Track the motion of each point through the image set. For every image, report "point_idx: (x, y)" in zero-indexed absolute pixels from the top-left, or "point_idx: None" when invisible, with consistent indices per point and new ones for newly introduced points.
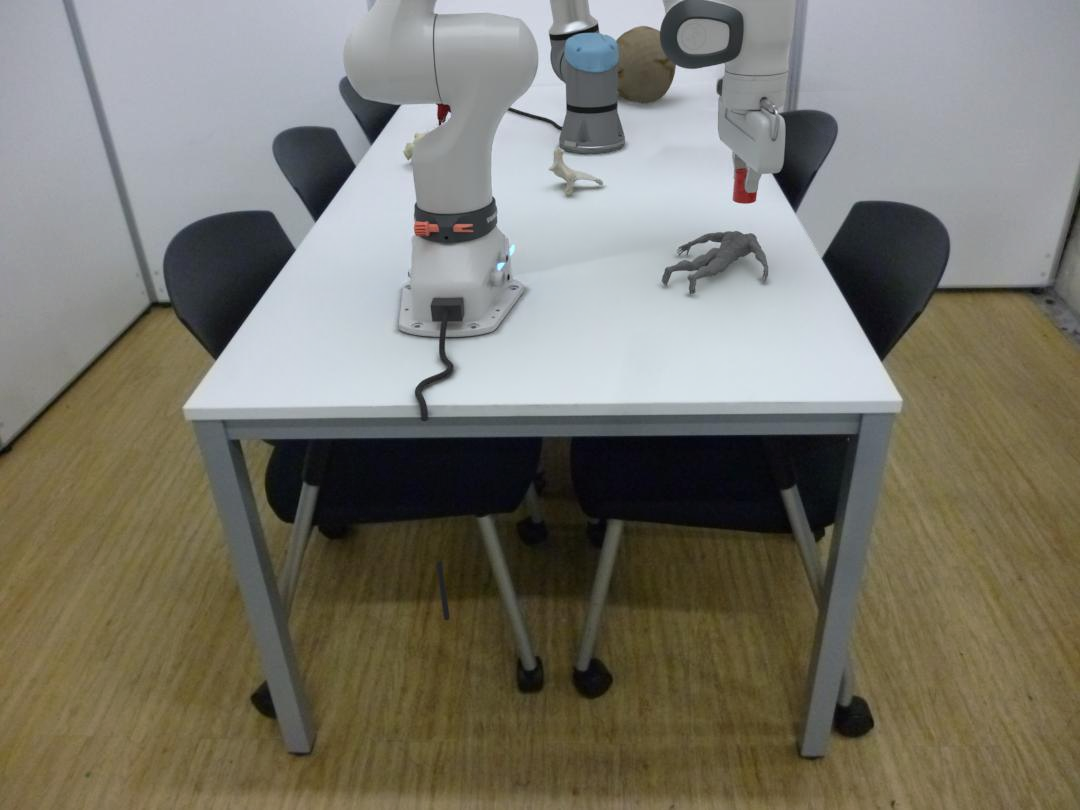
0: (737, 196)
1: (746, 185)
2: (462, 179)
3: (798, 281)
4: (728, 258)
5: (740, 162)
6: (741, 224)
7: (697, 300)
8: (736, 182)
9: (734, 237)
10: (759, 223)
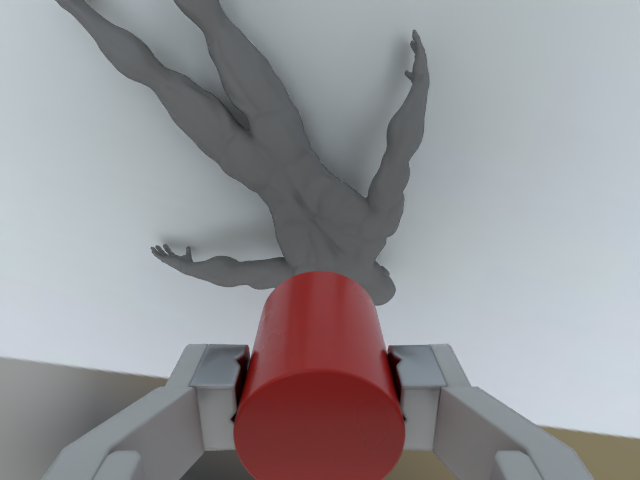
0: (281, 295)
1: (177, 365)
2: None
3: (175, 325)
4: (226, 172)
5: (476, 456)
6: (599, 312)
7: (51, 11)
8: (294, 331)
9: (319, 227)
10: (583, 357)
